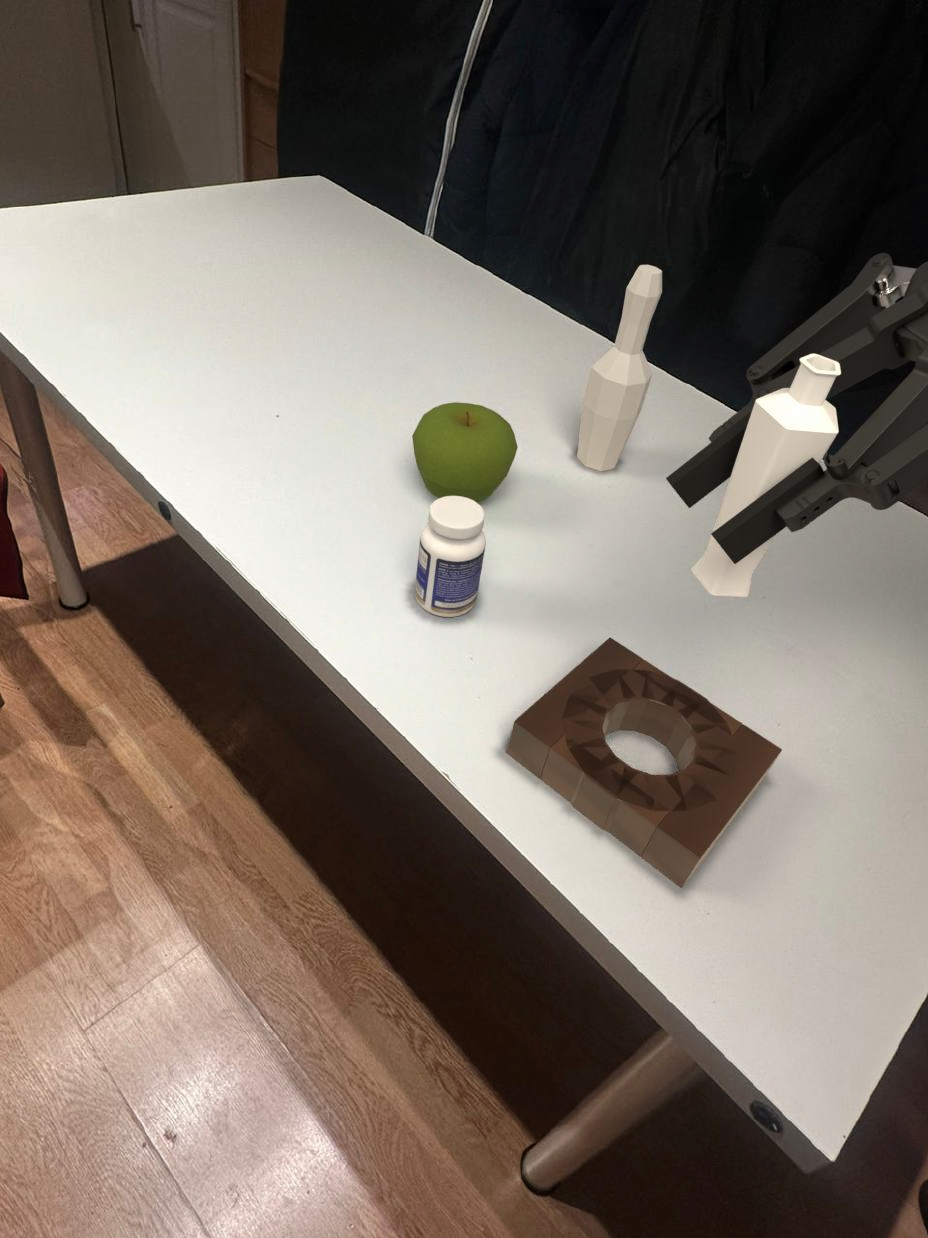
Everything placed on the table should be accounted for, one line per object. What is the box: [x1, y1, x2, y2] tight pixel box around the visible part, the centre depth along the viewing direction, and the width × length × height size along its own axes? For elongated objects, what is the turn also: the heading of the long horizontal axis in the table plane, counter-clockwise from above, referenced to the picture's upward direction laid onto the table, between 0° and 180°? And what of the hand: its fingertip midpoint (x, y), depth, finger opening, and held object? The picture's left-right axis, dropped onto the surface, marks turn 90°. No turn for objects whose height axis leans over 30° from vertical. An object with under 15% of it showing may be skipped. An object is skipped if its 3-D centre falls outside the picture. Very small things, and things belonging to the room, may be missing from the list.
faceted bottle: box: [576, 264, 663, 472], centre depth 88 cm, size 6×6×22 cm
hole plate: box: [505, 637, 783, 889], centre depth 63 cm, size 16×13×4 cm
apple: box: [411, 401, 519, 502], centre depth 84 cm, size 11×10×10 cm
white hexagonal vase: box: [691, 354, 841, 598], centre depth 47 cm, size 5×4×15 cm
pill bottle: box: [414, 496, 487, 618], centre depth 72 cm, size 6×6×10 cm
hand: (700, 520), depth 48 cm, fingers closed on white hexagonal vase, 5 cm apart
